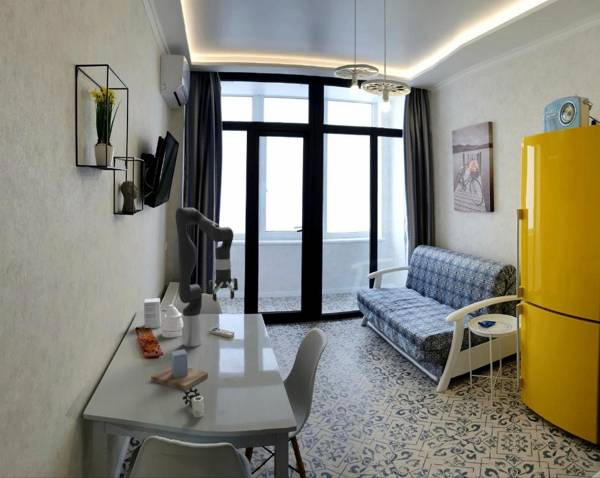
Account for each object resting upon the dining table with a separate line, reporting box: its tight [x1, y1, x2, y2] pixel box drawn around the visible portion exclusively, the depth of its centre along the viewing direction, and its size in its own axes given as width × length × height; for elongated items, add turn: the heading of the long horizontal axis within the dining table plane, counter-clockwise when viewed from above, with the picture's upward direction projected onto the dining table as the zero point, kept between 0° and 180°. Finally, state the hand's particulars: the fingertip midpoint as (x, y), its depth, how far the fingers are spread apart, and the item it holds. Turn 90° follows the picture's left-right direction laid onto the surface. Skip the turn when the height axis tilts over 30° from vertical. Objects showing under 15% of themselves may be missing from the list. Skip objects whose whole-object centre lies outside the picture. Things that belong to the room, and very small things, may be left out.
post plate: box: [150, 365, 209, 391], centre depth 174 cm, size 20×14×6 cm
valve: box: [182, 387, 205, 418], centre depth 148 cm, size 7×7×12 cm
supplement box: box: [143, 297, 162, 329], centre depth 246 cm, size 10×9×17 cm
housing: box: [170, 348, 189, 378], centre depth 174 cm, size 6×6×10 cm
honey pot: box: [161, 304, 183, 339], centre depth 232 cm, size 13×13×18 cm
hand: (223, 300), depth 194 cm, fingers open, 8 cm apart
